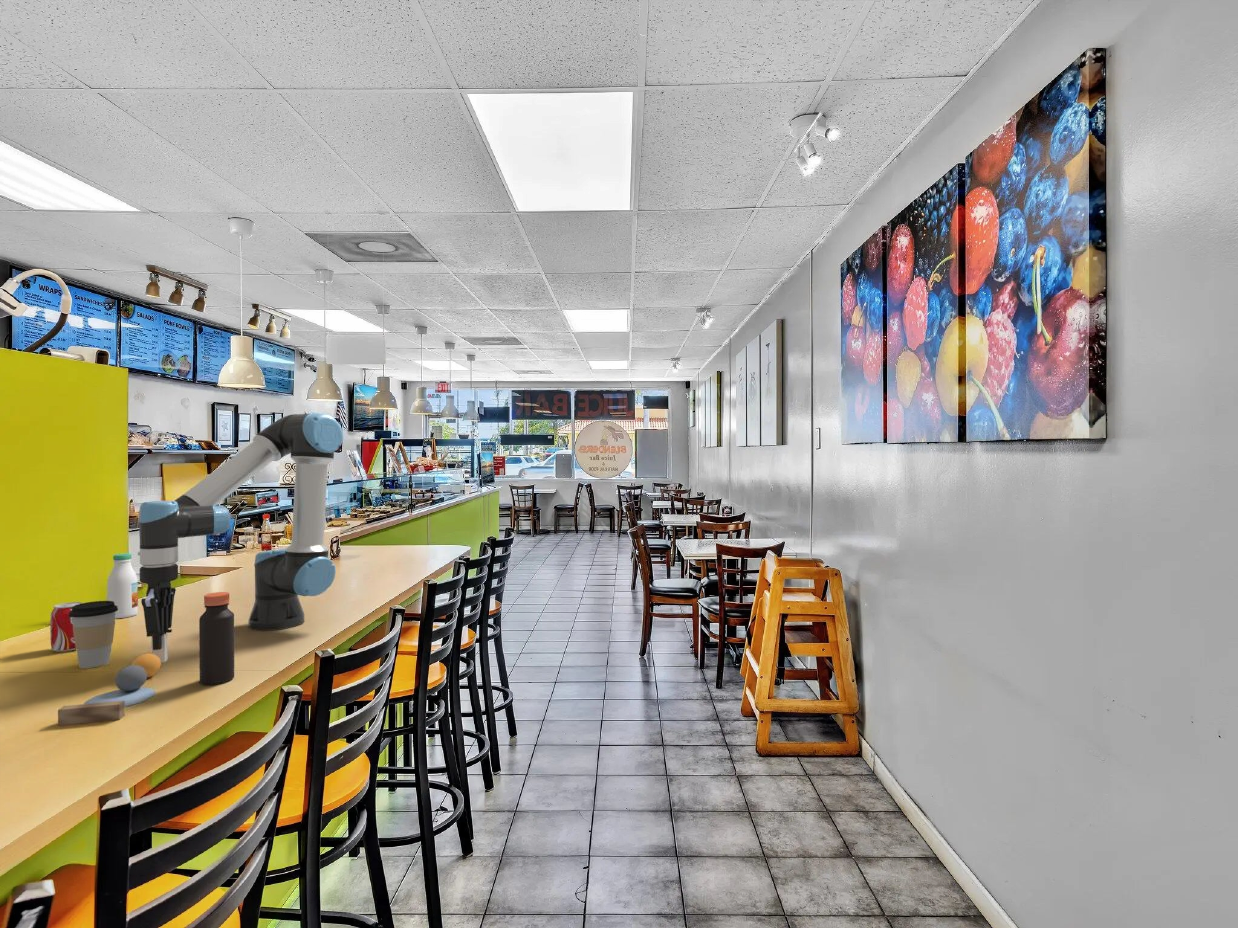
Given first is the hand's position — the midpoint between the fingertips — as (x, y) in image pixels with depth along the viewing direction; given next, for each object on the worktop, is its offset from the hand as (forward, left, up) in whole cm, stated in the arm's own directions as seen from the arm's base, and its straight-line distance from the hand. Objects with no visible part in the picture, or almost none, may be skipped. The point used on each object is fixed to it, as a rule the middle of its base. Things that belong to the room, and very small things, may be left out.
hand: (159, 661), depth 150 cm
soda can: (+30, -24, -2) cm, 38 cm away
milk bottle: (+33, -60, -2) cm, 69 cm away
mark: (0, +19, -2) cm, 19 cm away
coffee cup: (+17, -8, -2) cm, 19 cm away
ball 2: (0, +6, +1) cm, 6 cm away
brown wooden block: (0, +30, -2) cm, 30 cm away
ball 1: (0, +14, +1) cm, 14 cm away
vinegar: (-16, +12, -2) cm, 20 cm away
